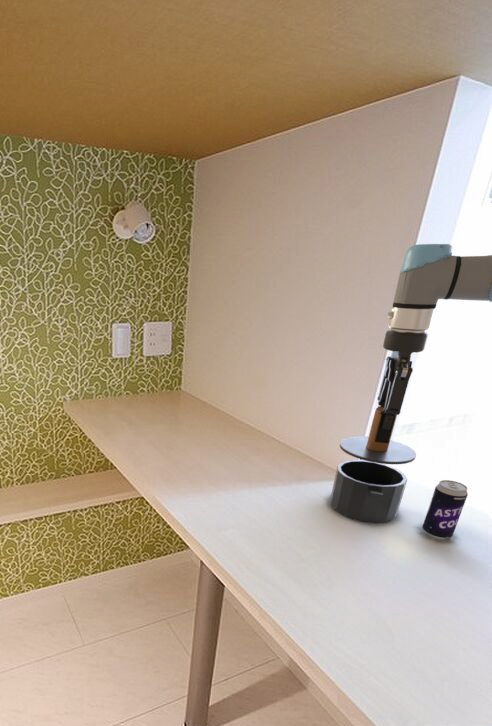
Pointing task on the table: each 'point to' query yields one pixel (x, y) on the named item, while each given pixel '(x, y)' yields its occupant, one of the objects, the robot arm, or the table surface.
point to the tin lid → (377, 446)
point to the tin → (367, 491)
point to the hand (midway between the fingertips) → (379, 437)
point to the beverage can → (445, 509)
